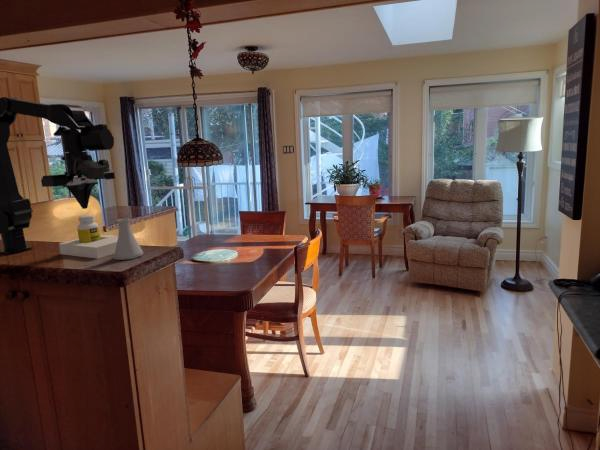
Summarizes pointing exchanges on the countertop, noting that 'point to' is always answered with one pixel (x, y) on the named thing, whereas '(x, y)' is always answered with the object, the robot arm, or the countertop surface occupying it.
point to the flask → (126, 242)
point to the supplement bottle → (88, 229)
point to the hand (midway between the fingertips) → (84, 208)
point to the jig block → (90, 247)
